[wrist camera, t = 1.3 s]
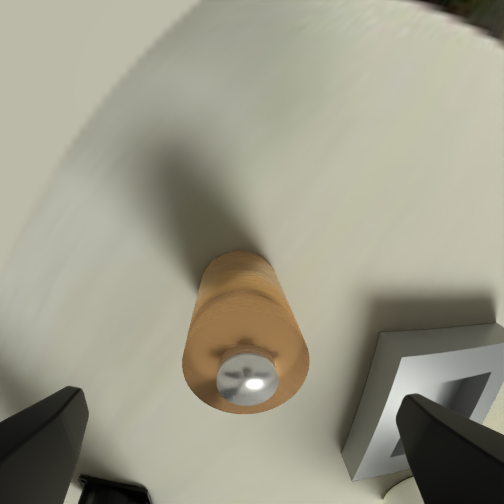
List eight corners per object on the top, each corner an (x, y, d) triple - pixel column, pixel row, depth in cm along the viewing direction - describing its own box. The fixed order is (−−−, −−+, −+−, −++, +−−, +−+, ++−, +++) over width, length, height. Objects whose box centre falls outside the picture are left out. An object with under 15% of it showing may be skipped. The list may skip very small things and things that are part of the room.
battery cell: (199, 321, 17) (182, 426, 9) (201, 248, 16) (176, 319, 8) (274, 324, 17) (303, 428, 10) (281, 252, 16) (325, 324, 9)
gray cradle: (341, 453, 20) (351, 481, 18) (379, 332, 18) (401, 357, 15) (450, 430, 21) (465, 450, 18) (496, 322, 19) (520, 339, 16)
